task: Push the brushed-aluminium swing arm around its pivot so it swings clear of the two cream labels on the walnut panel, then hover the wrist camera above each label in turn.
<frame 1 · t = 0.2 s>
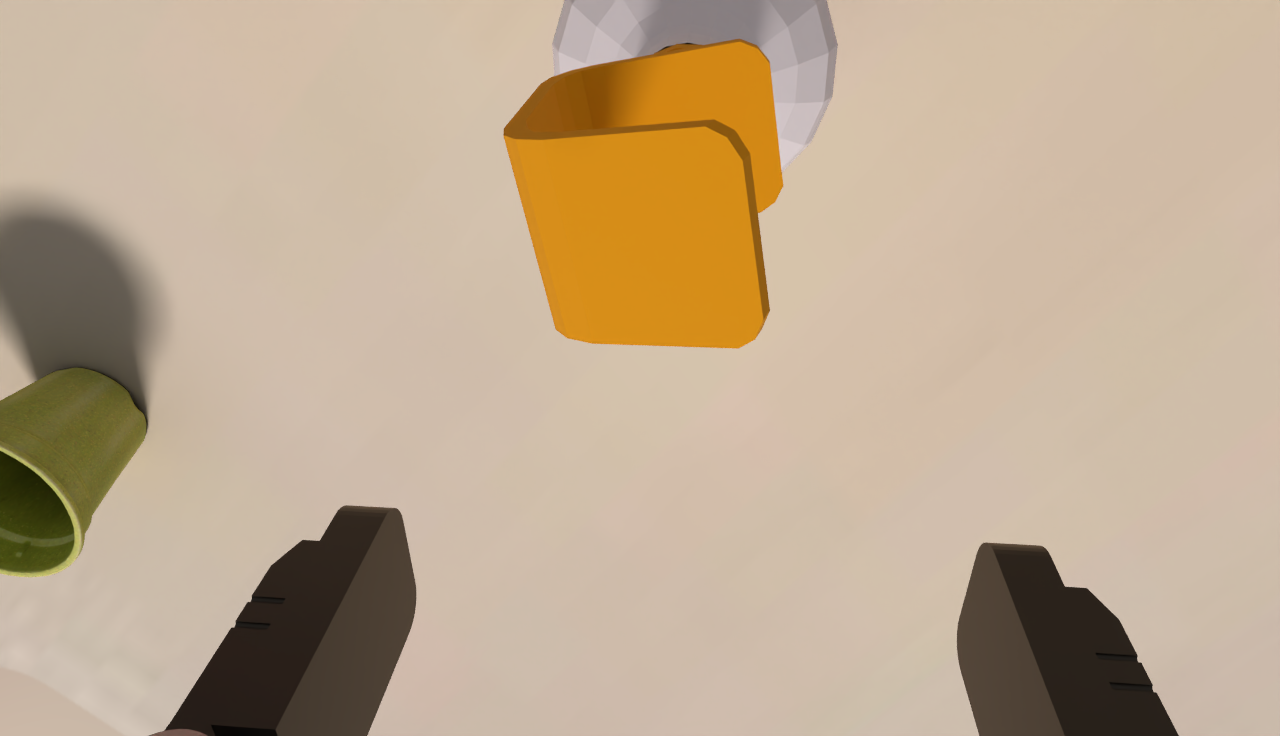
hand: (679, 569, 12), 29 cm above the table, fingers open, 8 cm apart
soap bottle: (700, 20, 35), on the table
plant pot: (98, 409, 49), on the table
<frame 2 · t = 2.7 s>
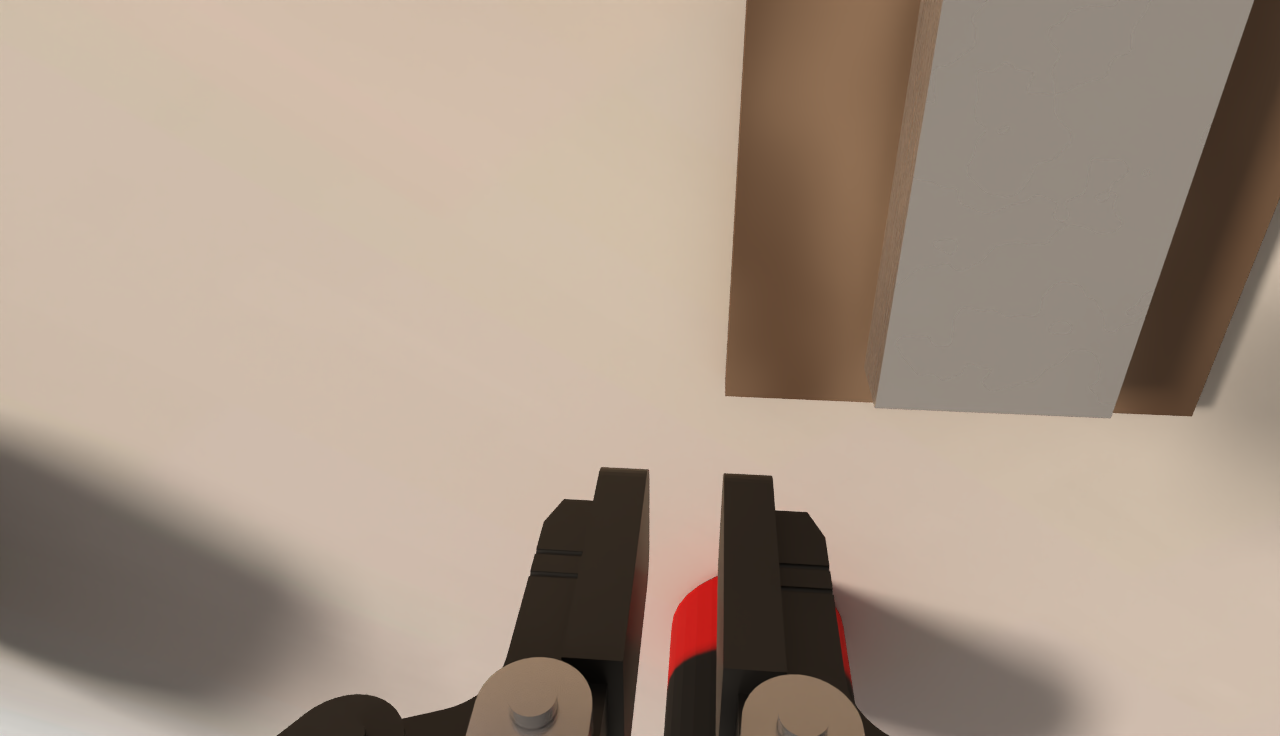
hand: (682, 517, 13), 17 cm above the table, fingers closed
soda can: (756, 622, 38), on the table
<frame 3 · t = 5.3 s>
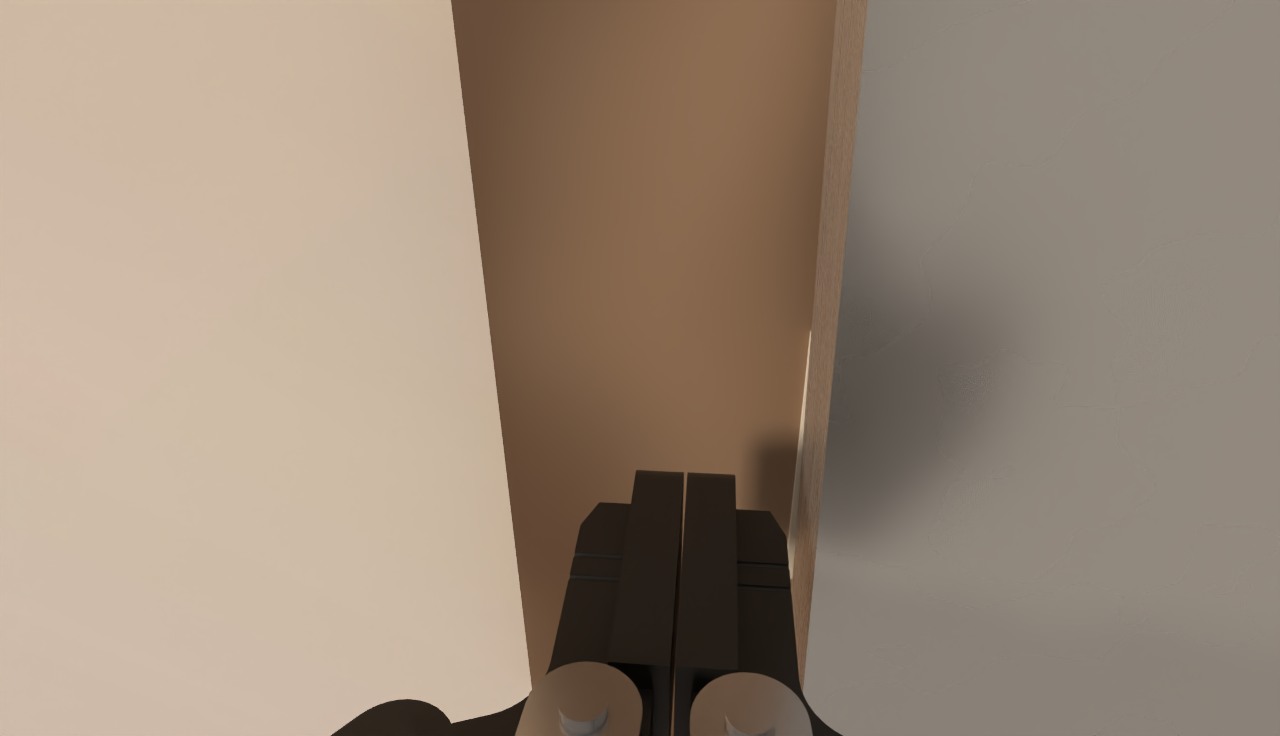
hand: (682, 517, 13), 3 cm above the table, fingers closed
label panel: (1044, 77, 12), on the table
swing arm: (1224, 58, 8), point 4 cm above the table, hinge at 1.5°, touching gripper
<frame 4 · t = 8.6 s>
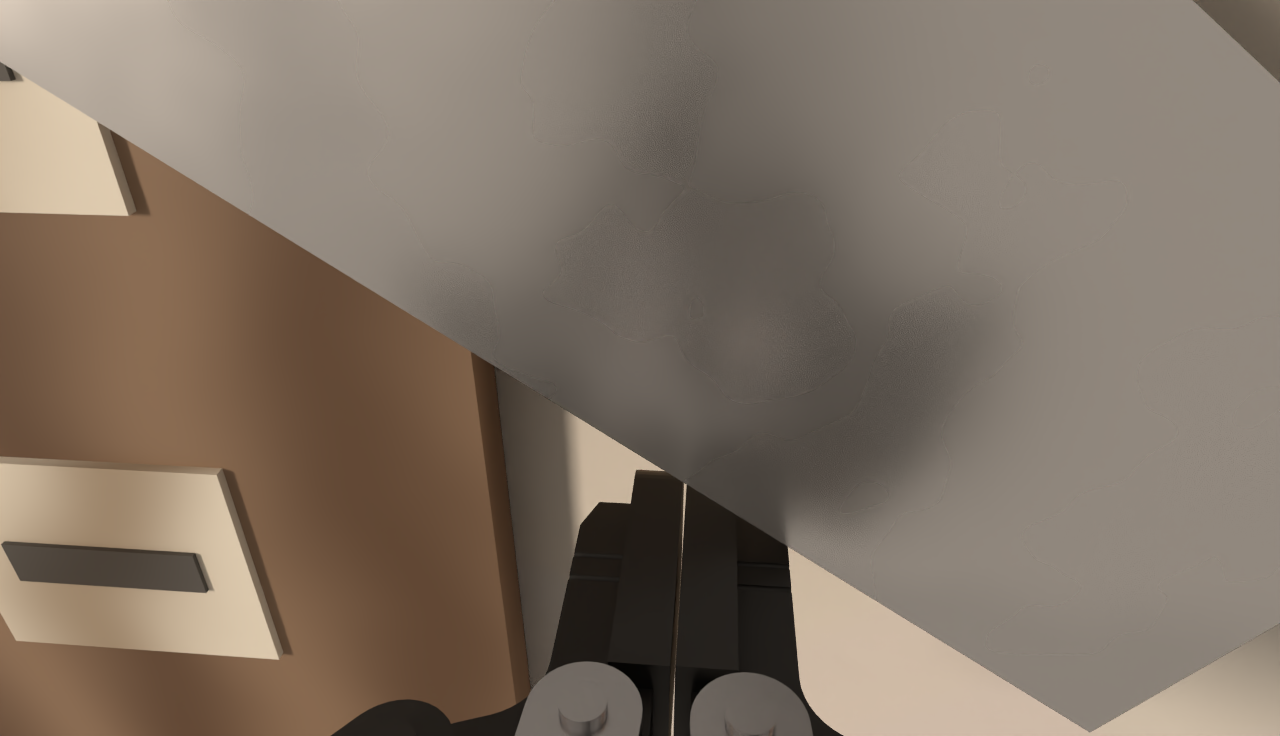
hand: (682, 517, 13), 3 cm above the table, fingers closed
label panel: (44, 262, 15), on the table
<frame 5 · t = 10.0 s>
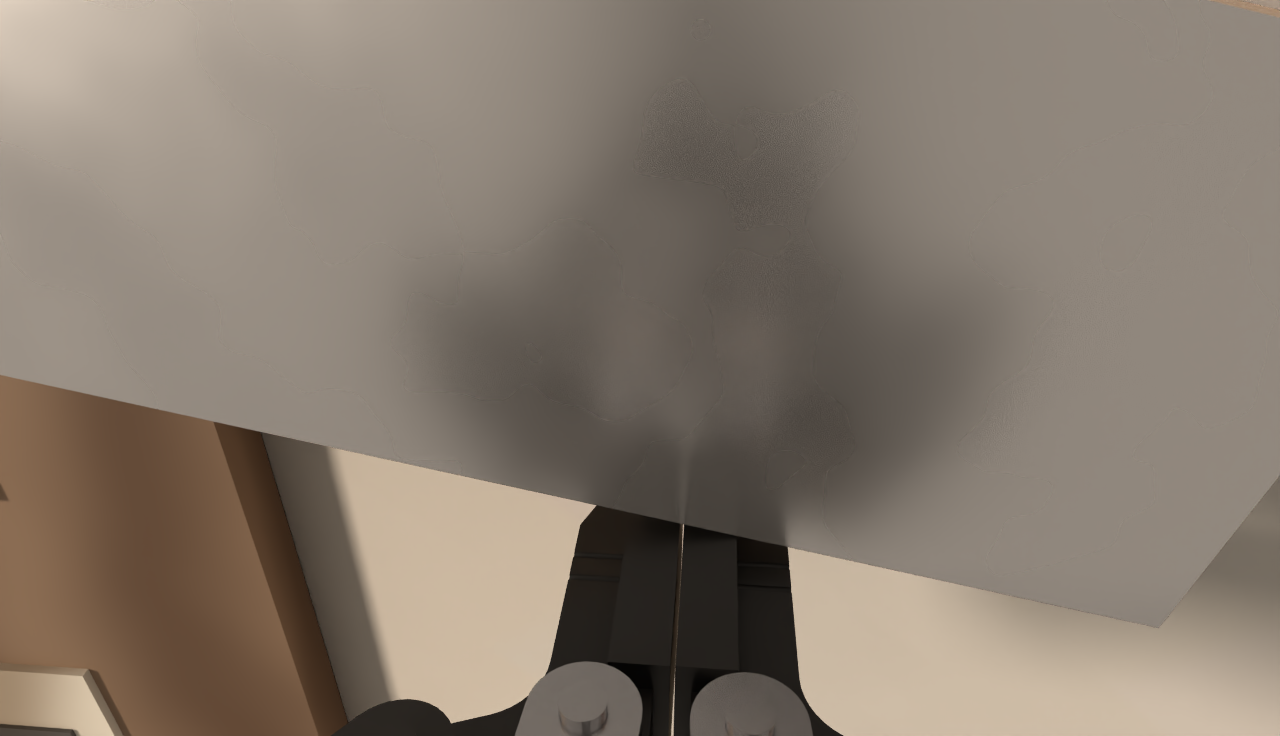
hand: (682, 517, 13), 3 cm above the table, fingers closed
swing arm: (178, 120, 9), point 4 cm above the table, hinge at 77.6°, touching gripper
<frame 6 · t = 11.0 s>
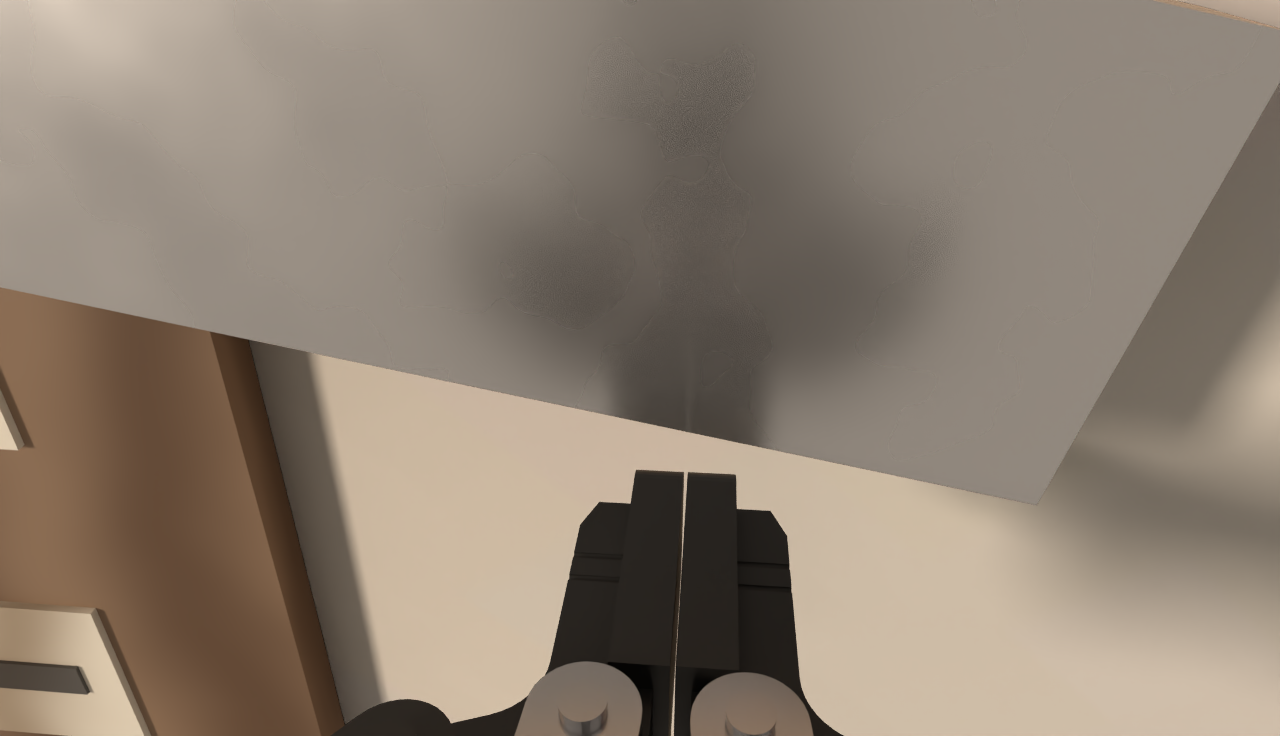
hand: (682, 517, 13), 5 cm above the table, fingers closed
swing arm: (214, 82, 12), point 4 cm above the table, hinge at 79.6°
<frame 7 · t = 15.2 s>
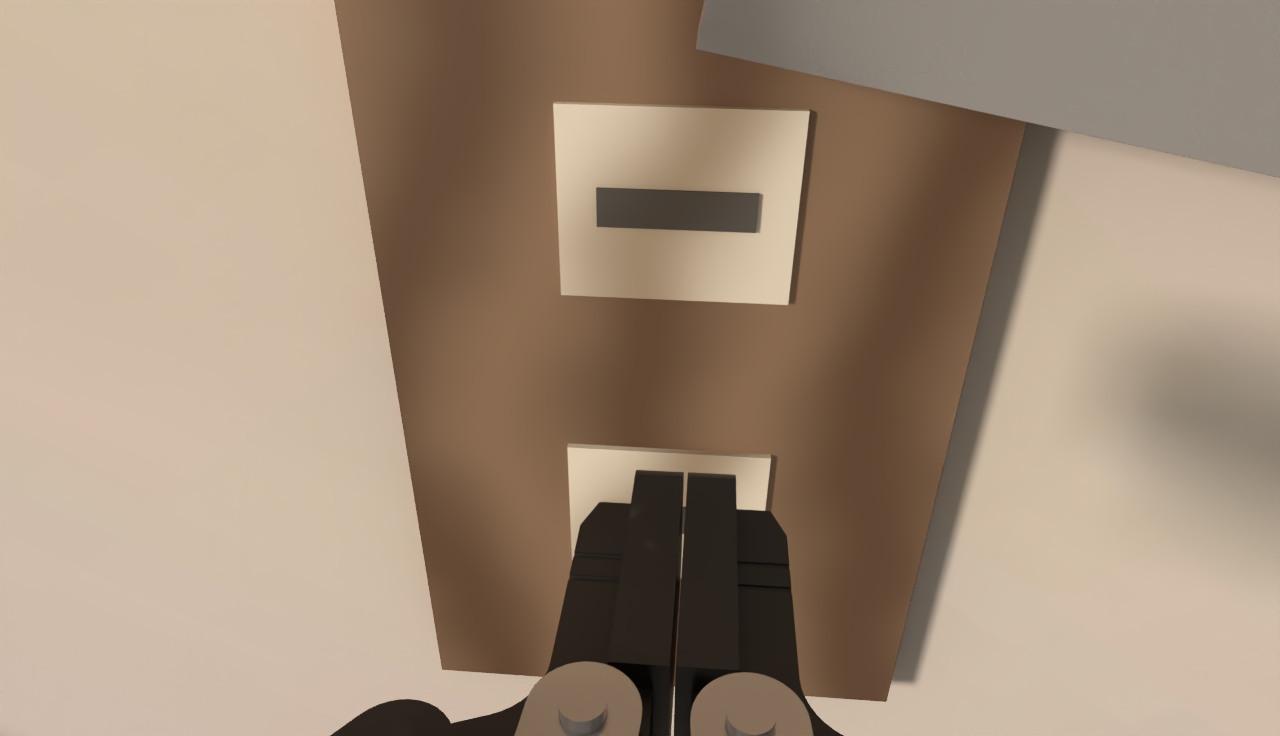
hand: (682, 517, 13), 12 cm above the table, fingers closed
label panel: (674, 325, 24), on the table
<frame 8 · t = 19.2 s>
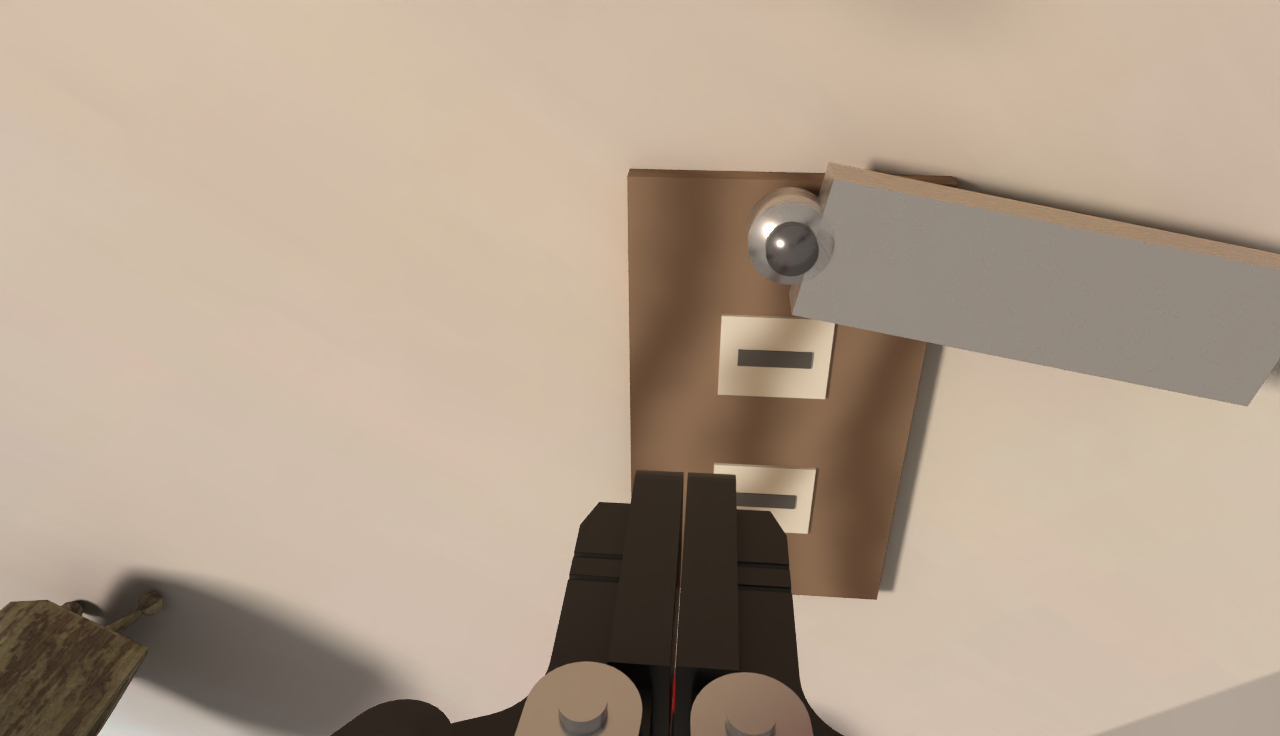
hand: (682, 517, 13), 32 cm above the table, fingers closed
tabletop clock: (104, 613, 65), on the table
label panel: (768, 405, 50), on the table
swing arm: (1015, 284, 40), point 4 cm above the table, hinge at 79.6°
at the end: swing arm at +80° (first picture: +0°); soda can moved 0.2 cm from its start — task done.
